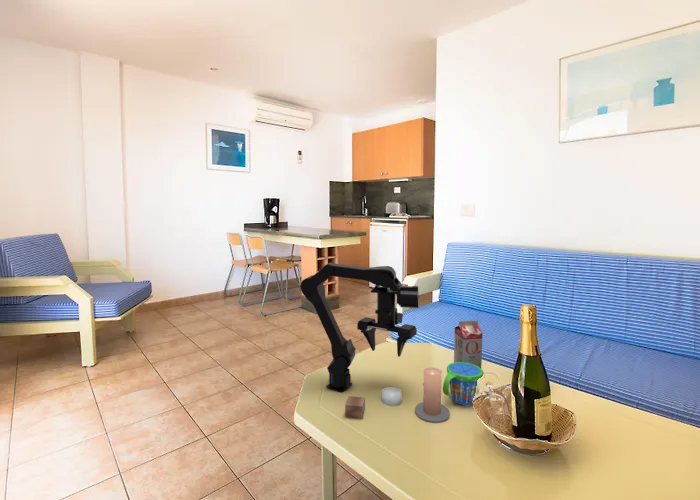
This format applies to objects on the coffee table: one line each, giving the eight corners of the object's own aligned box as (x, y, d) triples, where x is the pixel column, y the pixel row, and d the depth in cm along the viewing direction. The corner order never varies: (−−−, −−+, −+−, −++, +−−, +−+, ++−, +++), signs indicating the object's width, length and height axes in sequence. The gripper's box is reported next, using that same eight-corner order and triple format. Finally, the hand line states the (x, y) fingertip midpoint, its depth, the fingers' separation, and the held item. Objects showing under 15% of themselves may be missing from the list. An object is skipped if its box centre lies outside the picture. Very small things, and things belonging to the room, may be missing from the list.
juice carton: (480, 387, 119) (482, 323, 117) (461, 388, 118) (463, 324, 116) (471, 378, 126) (473, 317, 123) (453, 379, 125) (454, 318, 123)
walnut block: (345, 418, 103) (345, 404, 102) (348, 408, 108) (348, 396, 107) (362, 419, 102) (362, 406, 101) (365, 410, 107) (364, 397, 106)
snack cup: (472, 387, 119) (473, 358, 118) (495, 403, 110) (497, 371, 108) (432, 396, 114) (433, 366, 112) (453, 414, 104) (454, 380, 103)
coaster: (409, 415, 103) (409, 414, 103) (422, 400, 112) (422, 398, 112) (443, 426, 98) (443, 424, 98) (454, 409, 106) (454, 407, 106)
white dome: (378, 402, 111) (378, 393, 110) (387, 394, 116) (387, 385, 115) (396, 408, 108) (396, 398, 107) (404, 399, 113) (404, 390, 112)
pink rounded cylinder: (424, 415, 103) (424, 375, 101) (422, 405, 107) (422, 367, 106) (442, 415, 102) (442, 375, 101) (439, 406, 107) (440, 367, 106)
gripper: (423, 304, 116) (422, 350, 117) (372, 297, 126) (372, 340, 127) (409, 312, 106) (409, 363, 108) (356, 304, 116) (356, 350, 118)
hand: (386, 353), depth 116 cm, fingers open, 9 cm apart
